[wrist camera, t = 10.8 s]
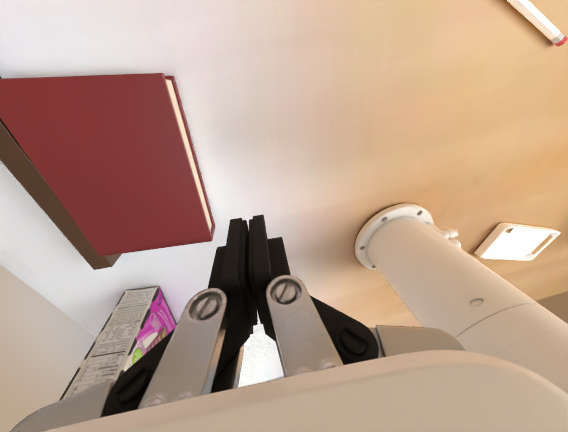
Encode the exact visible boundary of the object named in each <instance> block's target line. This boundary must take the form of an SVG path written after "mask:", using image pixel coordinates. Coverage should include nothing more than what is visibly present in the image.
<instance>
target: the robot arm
mask: <svg viewBox="0 0 568 432" xmlns="http://www.w3.org/2000/svg"><path fill="white" fill-rule="evenodd" d="M457 236H458V232H457V230H456V229H454V228H452V229H447V230H443V231H442V230H440V229H439V228H437V227H436V226H434V225H433V220H432V216H431V215H430V213H429V212H428V211H426V210H425V209H424V208H422V207H420V206H418V205H415V204H406V203H404V204H398V205H394V206H392V207H389V208H387V209H385V210H383V211H381V212H379V213H378V214H376V215H375V216H373V217H372V218H371V219H370V220H369V221H368V222H367V223H366V224H365V225H364V227H363V228H362V229H361V231H360V232H359V234H358V236H357V239H356V242H355V254H356V257H357V258H358V260H359V261H360V263H361V264H362V265H363V266H365V267H367V268H369V269H372V270H379V271H380V273H381V274H382V275H383V277H384V278H385V279H386V281H387V282H388V283H389V285H390V286H391V287H392V288H393V290H394V291H395V292H396V294H397V295H398V296H399V298H400V299H401V300H402V301H403V303H404V304H405V305H406V307H407V308H408V309H409V311H410V312H411V313H412V314H413V316H414V317H415V318H416V320H417V321H418V322H419V324H420V325H421V326H422V327H406V326H384V325H376V328H368V327H366V326H365V325H363V324H362V323H360V322H358V321H357V320H355V319H353V318H351V317H349V316H347V315H345V314H344V313H342V312H340V311H338V310H336V309H334V308H332V307H331V306H329V305H327V304H325V303H323V302H321V301H319V300H318V299H316V298H314V297H312V296H310V295H309V294H308V291H307V289H306V287H305V285H304V284H303V282H302V281H301V280H300V279H298V278H297V277H294V276H291V275H290V270H289V266H288V261H287V257H286V253H285V248H284V244H283V240H282V237H278V238H272V239H267V233H266V227H265V221H264V215H258V216H253V219H250V220H249V230H248V226H247V221H246V220H243V221H242V218H238V219H231V220H230V225H229V231H228V237H227V243H226V246H222V247H218V248H217V250H216V254H215V258H214V263H213V267H212V272H211V276H210V281H209V285H208V289H205V290H203V291H200V292H199V293H197V294H196V295H194V296H193V297H192V298H191V299H190V300H189V302H188V304H187V305H186V307H185V309H184V311H183V313H182V315H181V318H180V320H179V322H178V324H177V326H176V328H174V329H173V330H172V331H171V332H170V333H169V334H168V335H166V336H165V337H164V338H163V339H162V340H161V341H160V342H158V343H157V344H156V345H155V346H154V347H153V348H151V349H150V350H149V351H148V352H147V353H146V354H145V355H143V356H142V357H141V358H140V359H139V360H138V361H136V362H135V363H134V364H133V365H132V366H131V367H130V368H128V369H127V370H126V371H125V372H124V373H123V374H122V375H121V376H120V377H119V378H118V380H115V381H114V380H113V379H109V380H107V381H105V382H102V383H100V384H98V385H95V386H93V387H91V388H88V389H86V390H84V391H81V392H79V393H76V394H74V395H72V396H69V397H67V398H65V399H62V400H60V401H58V402H55V403H53V404H51V405H48V406H46V407H43V408H41V409H39V410H37V411H36V412H34V413H32V414H30V415H28V416H27V417H26V418H25V419H23V420H22V421H21V422H20V423H18V424H17V425H16V426H15V427H14V428H13V429H12V430H11V431H10V432H568V324H567V323H565V322H564V321H562V320H561V319H560V318H558V317H557V316H555V315H554V314H552V313H551V312H550V311H548V310H547V309H545V308H544V307H542V306H541V305H540V304H538V303H537V302H536V301H534V300H533V299H531V298H530V297H529V296H527V295H526V294H524V293H523V292H521V291H520V290H519V289H517V288H516V287H514V286H513V285H512V284H510V283H509V282H507V281H506V280H505V279H503V278H502V277H500V276H499V275H498V274H496V273H495V272H493V271H492V270H490V269H489V268H488V267H486V266H485V265H483V264H482V263H481V262H479V261H478V260H476V259H475V258H474V257H472V256H471V255H469V254H468V253H466V252H465V251H464V250H462V249H461V244H460V242H459V241H458V240H457V239H455V238H453V237H457ZM448 238H451V239H448ZM257 311H258V315H259V318H260V322H261V324H263V326H264V330H265V334H266V335H268V336H269V337H270V338H272V339H273V340H274V341H276V346H277V350H278V354H279V358H280V362H281V366H282V369H283V373H284V377H285V378H281V379H277V380H272V381H267V382H262V383H258V384H253V385H248V386H244V387H239V388H238V383H239V377H240V371H241V365H242V359H243V352H244V343H245V342H246V341H247V339H248V338H249V337H250V334H253V325H257Z"/></svg>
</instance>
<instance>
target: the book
mask: <svg viewBox="0 0 568 432" xmlns="http://www.w3.org/2000/svg"><path fill="white" fill-rule="evenodd" d="M0 118H1V119H2V121H3V122H4V124H5V125H6V126H7V128H8V129H9V131H10V132H11V133H12V135H13V136H14V138H15V139H16V140H17V142H18V143H19V145H20V146H21V147H22V149H23V150H24V152H25V153H26V154H27V156H28V157H29V159H30V160H31V161H32V163H33V164H34V166H35V167H36V168H37V170H38V171H39V173H40V174H41V175H42V177H43V178H44V180H45V181H46V182H47V184H48V185H49V187H50V188H51V189H52V191H53V192H54V194H55V195H56V196H57V198H58V199H59V201H60V202H61V203H62V205H63V206H64V208H65V209H66V210H67V212H68V213H69V215H70V216H71V217H72V219H73V220H74V222H75V223H76V224H77V226H78V227H79V229H80V230H81V231H82V233H83V234H84V236H85V237H86V238H87V240H88V241H89V243H90V244H91V245H92V247H93V248H94V250H95V251H96V252H97V254H98V255H99V256H107V255H114V254H121V253H128V252H136V251H143V250H150V249H158V248H165V247H172V246H179V245H187V244H194V243H201V242H208V241H212V239H213V234H214V229H215V225H214V221H213V217H212V214H211V210H210V206H209V203H208V199H207V195H206V192H205V188H204V184H203V181H202V177H201V173H200V170H199V166H198V162H197V159H196V155H195V152H194V148H193V144H192V141H191V137H190V133H189V130H188V126H187V122H186V119H185V115H184V111H183V108H182V104H181V100H180V97H179V93H178V89H177V86H176V82H175V79H174V76H164V74H163V73H152V74H124V75H96V76H68V77H40V78H13V79H0Z"/></svg>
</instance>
